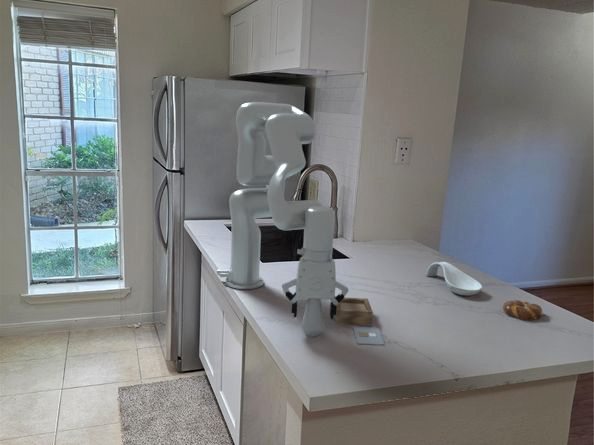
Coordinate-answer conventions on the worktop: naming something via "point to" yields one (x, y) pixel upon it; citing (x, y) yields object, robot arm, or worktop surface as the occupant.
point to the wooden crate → (354, 311)
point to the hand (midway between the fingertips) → (313, 316)
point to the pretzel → (522, 310)
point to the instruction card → (368, 335)
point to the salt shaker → (313, 318)
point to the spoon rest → (456, 279)
